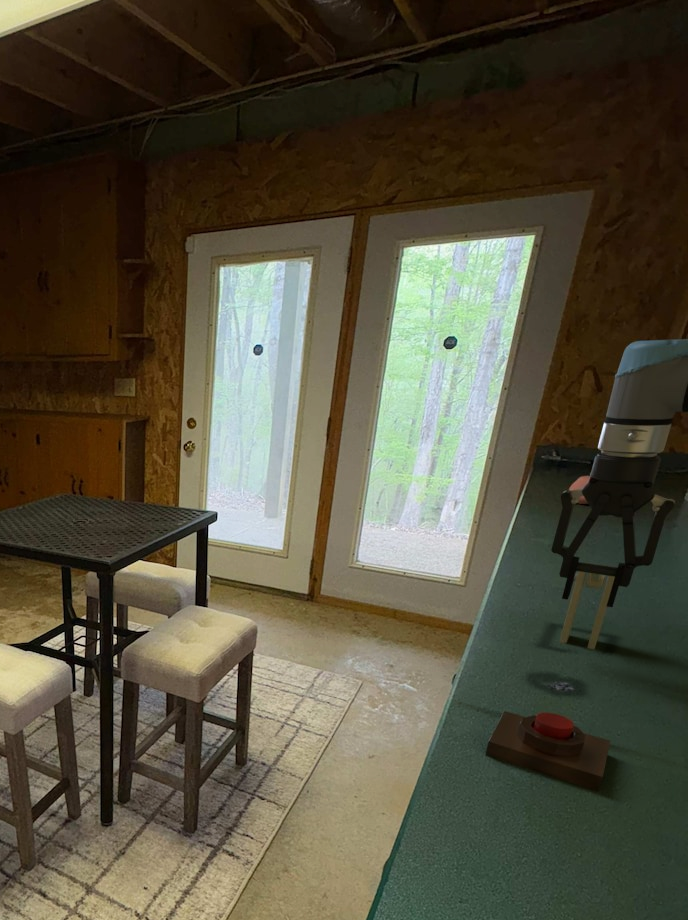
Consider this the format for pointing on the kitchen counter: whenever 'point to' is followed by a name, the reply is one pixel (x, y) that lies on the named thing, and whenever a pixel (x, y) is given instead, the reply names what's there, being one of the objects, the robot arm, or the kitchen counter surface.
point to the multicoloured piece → (596, 573)
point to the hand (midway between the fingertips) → (587, 600)
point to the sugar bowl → (580, 487)
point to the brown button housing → (549, 751)
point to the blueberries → (561, 686)
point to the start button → (553, 725)
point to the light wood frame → (574, 604)
